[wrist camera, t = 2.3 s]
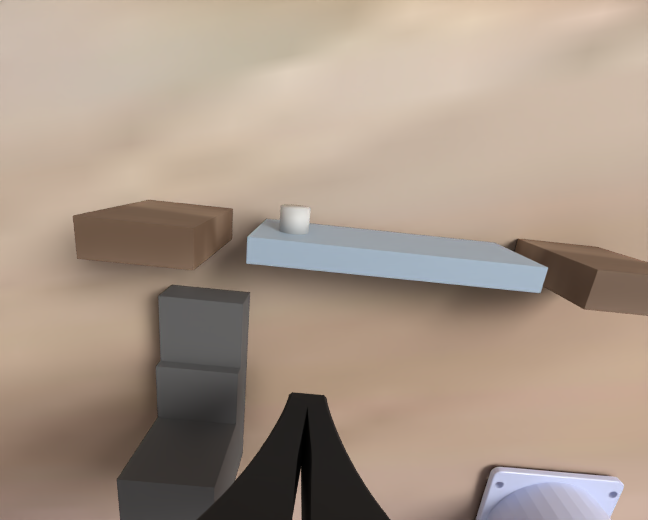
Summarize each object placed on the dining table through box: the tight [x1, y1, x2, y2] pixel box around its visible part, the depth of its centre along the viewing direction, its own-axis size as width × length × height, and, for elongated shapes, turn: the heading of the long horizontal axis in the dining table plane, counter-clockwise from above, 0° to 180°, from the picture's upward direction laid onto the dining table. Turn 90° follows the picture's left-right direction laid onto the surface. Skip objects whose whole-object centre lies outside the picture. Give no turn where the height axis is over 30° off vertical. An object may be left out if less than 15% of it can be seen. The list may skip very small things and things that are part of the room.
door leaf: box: [246, 205, 548, 293], centre depth 14 cm, size 2×11×4 cm, turn 84°
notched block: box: [117, 285, 250, 520], centre depth 16 cm, size 10×4×6 cm, turn 174°
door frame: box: [73, 200, 648, 316], centre depth 14 cm, size 2×22×5 cm, turn 83°
